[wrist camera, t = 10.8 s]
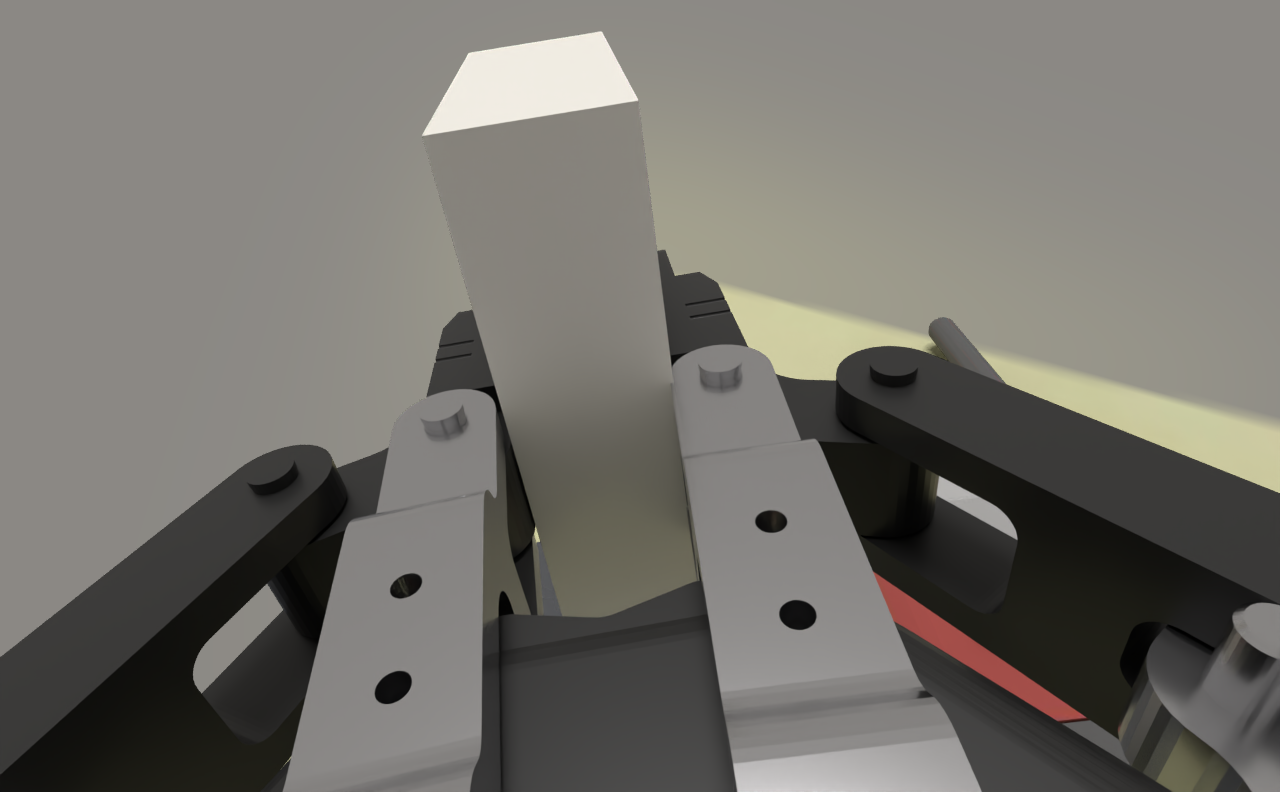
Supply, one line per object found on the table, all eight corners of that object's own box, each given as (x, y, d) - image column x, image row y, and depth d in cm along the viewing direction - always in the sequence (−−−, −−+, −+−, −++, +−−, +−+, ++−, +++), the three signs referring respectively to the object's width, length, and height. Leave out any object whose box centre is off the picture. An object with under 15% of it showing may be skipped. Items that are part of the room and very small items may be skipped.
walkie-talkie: (1405, 895, 13) (960, 348, 30) (1543, 770, 11) (974, 249, 27) (929, 944, 14) (749, 376, 30) (956, 833, 11) (744, 281, 28)
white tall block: (737, 856, 15) (648, 98, 7) (638, 874, 15) (421, 135, 7) (695, 653, 19) (608, 30, 11) (617, 667, 19) (469, 52, 11)
